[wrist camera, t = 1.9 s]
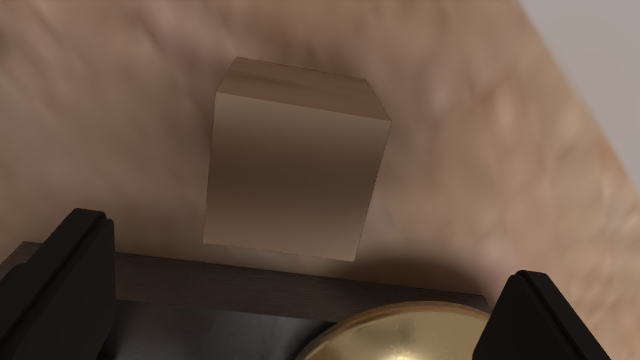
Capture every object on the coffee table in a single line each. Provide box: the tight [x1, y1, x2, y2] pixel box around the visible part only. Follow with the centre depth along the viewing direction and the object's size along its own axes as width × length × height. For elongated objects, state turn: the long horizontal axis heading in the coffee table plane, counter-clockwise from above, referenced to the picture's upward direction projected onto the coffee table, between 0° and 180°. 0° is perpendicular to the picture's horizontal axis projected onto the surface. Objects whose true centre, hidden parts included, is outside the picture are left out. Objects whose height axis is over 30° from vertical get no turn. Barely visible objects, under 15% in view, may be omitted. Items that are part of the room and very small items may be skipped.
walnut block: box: [203, 57, 392, 262], centre depth 19 cm, size 6×6×6 cm
